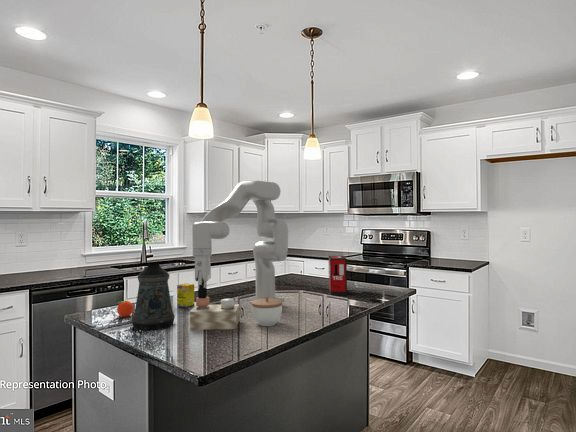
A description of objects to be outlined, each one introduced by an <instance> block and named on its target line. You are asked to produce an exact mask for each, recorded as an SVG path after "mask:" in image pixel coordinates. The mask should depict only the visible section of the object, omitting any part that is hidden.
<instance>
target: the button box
mask: <svg viewBox="0 0 576 432" xmlns="http://www.w3.org/2000/svg"><path fill="white" fill-rule="evenodd" d="M239 322H240V304H239V303H237V304H236V303H234V308H232V309H223V308H221V304H209V306H207V309H205V310H198V306H196V305H194V306H193V308H192V309H190V311H189V330H190V331H191V330H193V331H194V330H195V331H199V330H200V331H201V330H236V329H237V328H238V325H239Z"/></svg>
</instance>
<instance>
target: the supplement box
mask: <svg viewBox="0 0 576 432" xmlns="http://www.w3.org/2000/svg"><path fill="white" fill-rule="evenodd" d="M176 289H177V291H176V292H177V293H176V295H177V296H176V297H177V298H176V299H177V300H176V301H177V304H176V305H177V308H183V309H189V308H192V307H195V284H194V283H186V282H185V283H180V284H176Z"/></svg>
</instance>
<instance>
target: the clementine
mask: <svg viewBox="0 0 576 432" xmlns="http://www.w3.org/2000/svg"><path fill="white" fill-rule="evenodd" d="M117 304H118V305H117ZM116 305H117V307H116V311H117V314H118V315H119V316H121V317H123V318H126V317H129V316H131V315H132V314H133V313H134V311H135V308H134V304H133V303H132V302H131V301H130V300H123V301H119V302H117V303H116Z"/></svg>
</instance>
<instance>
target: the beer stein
mask: <svg viewBox="0 0 576 432" xmlns="http://www.w3.org/2000/svg"><path fill="white" fill-rule="evenodd" d="M169 279H170V273H169V272H167V270H165V269H164V268H163V267H161V265H160V263H157V262H156V263H155V262H152V263H148V264H147V266H146V267H145V268H144V269H143V270H142V271H141V272H139V274H138V275H137V281H138V290H137V296H136V301H135V308H134V310H133V315H132V318H131V323H132V328H133V329H134V330H135V329H136V330H135V331H139V330H141V331H140V332H155V330H156V331H162V330H165V329H169V328H171V327H173V325H174V322H175V313H174V311H173V308H172V307H173V306H172V301H171V300H172V299H171V294H170V289H169V288H170V287H169V282H168V281H169Z"/></svg>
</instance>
